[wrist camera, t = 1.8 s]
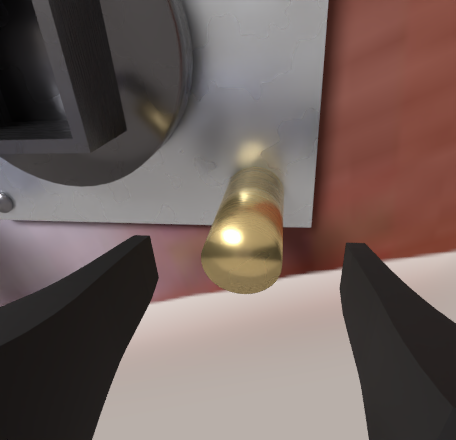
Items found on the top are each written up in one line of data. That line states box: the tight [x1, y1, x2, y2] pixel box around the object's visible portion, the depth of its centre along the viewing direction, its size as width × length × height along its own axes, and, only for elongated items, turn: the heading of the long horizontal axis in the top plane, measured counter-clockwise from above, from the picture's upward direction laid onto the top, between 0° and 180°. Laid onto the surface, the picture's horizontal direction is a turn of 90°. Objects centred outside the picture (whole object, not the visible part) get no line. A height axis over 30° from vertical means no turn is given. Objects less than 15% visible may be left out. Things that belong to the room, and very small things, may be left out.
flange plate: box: [0, 0, 329, 228], centre depth 15 cm, size 20×19×1 cm
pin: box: [201, 167, 284, 294], centre depth 14 cm, size 3×3×6 cm
